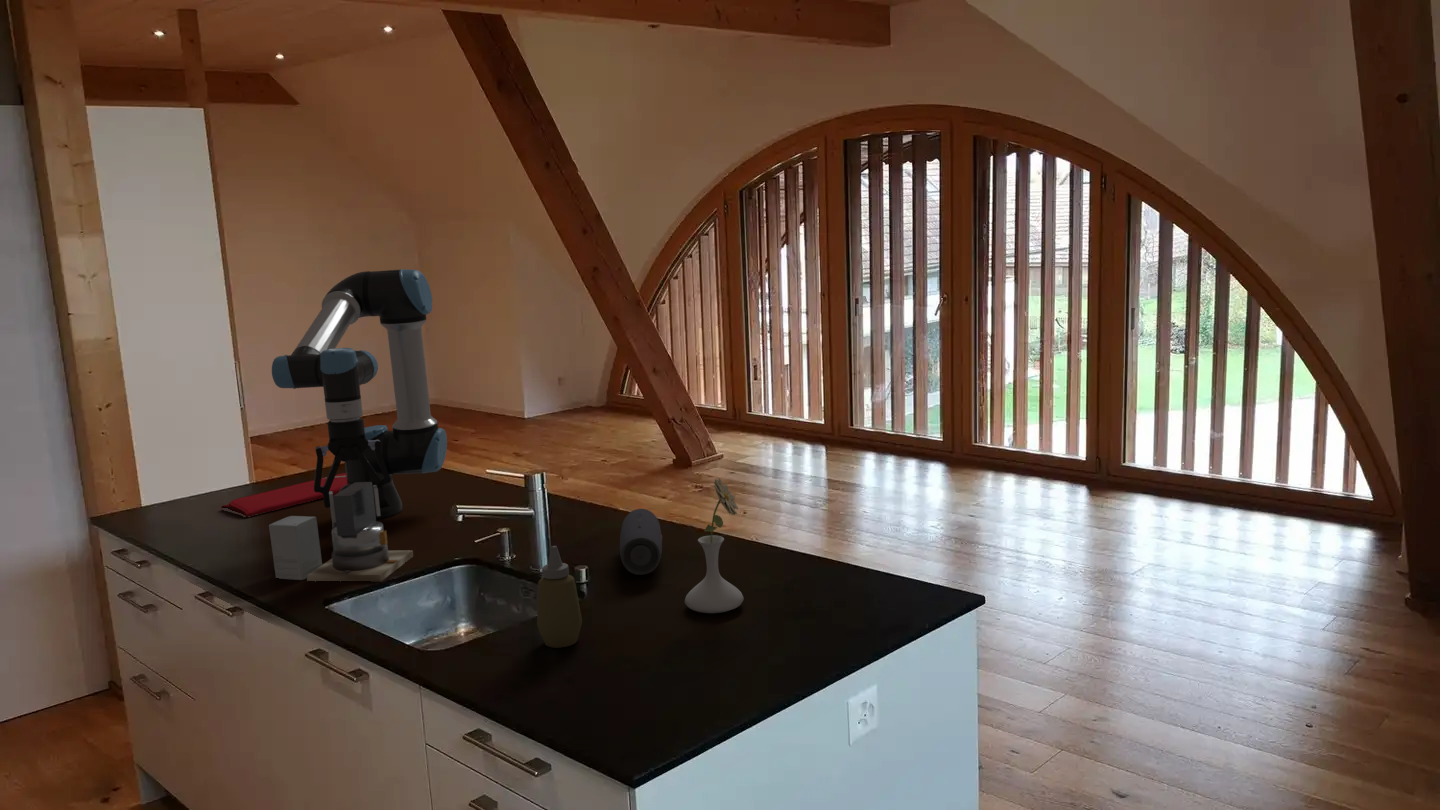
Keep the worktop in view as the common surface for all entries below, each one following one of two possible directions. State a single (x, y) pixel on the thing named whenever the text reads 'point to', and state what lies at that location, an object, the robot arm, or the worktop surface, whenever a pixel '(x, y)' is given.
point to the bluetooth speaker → (640, 542)
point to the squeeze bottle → (558, 604)
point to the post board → (362, 574)
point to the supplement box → (295, 547)
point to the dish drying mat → (283, 497)
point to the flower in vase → (715, 566)
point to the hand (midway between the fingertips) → (356, 517)
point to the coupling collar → (357, 522)
